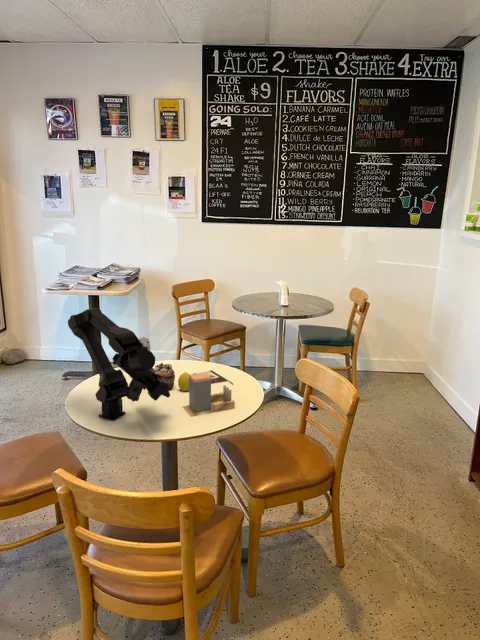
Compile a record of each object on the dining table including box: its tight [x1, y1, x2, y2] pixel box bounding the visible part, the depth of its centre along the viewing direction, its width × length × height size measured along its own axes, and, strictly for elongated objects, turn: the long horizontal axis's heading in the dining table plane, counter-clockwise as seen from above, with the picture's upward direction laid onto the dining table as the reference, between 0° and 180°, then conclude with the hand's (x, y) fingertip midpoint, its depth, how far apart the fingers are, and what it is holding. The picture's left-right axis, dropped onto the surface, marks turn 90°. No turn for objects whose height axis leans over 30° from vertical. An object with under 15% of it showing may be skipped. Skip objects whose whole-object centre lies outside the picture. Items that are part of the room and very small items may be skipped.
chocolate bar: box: [193, 370, 234, 386], centre depth 191 cm, size 9×1×18 cm
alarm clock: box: [138, 336, 151, 352], centre depth 195 cm, size 12×7×15 cm, turn 9°
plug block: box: [188, 372, 212, 413], centre depth 160 cm, size 6×5×12 cm
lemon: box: [177, 372, 191, 392], centre depth 177 cm, size 6×6×8 cm
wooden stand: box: [181, 384, 236, 418], centre depth 162 cm, size 16×9×7 cm, turn 116°
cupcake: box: [153, 362, 176, 392], centre depth 180 cm, size 10×10×10 cm
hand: (169, 396), depth 154 cm, fingers closed
